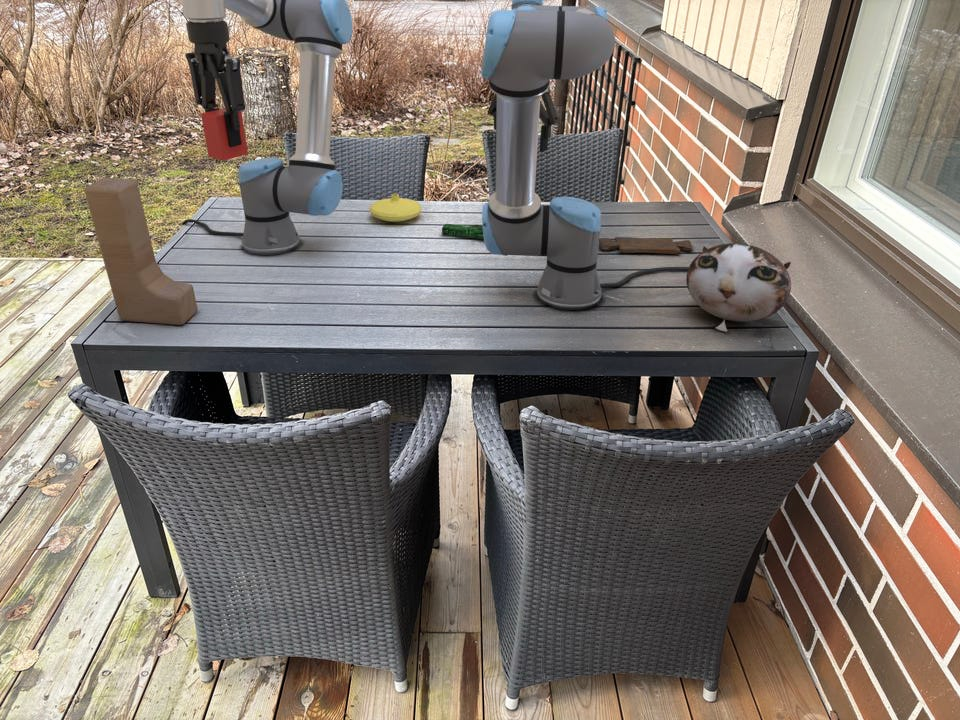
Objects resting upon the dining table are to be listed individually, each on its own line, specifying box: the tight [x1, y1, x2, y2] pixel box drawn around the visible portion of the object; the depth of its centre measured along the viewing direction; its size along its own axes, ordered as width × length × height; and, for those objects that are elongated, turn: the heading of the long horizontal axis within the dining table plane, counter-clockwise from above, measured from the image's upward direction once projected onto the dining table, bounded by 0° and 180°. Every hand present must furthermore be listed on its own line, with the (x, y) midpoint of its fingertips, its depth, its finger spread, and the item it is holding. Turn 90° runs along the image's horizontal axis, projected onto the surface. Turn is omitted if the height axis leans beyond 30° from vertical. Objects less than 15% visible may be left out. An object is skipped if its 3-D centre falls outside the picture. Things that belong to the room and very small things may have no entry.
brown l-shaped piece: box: [83, 177, 198, 326], centre depth 152 cm, size 8×15×30 cm, turn 82°
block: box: [200, 107, 249, 162], centre depth 147 cm, size 5×6×9 cm
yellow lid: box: [369, 193, 422, 223], centre depth 215 cm, size 16×16×7 cm
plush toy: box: [685, 242, 792, 332], centre depth 158 cm, size 22×18×20 cm
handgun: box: [441, 223, 484, 242], centre depth 207 cm, size 16×3×15 cm
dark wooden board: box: [599, 236, 693, 255], centre depth 198 cm, size 26×2×10 cm
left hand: (226, 143), depth 148 cm, fingers closed on block, 5 cm apart
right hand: (521, 147), depth 190 cm, fingers open, 13 cm apart
